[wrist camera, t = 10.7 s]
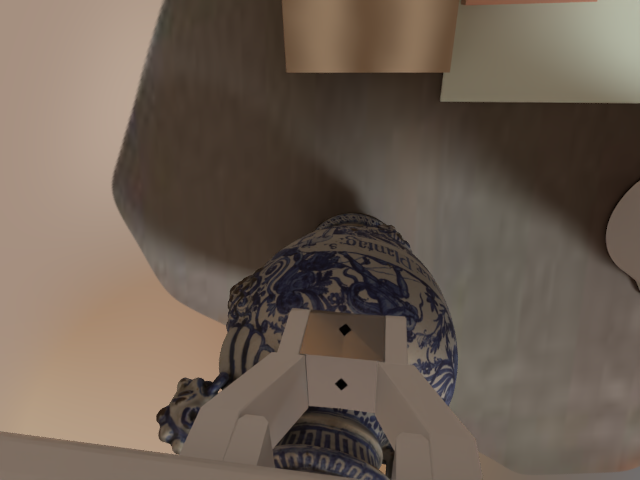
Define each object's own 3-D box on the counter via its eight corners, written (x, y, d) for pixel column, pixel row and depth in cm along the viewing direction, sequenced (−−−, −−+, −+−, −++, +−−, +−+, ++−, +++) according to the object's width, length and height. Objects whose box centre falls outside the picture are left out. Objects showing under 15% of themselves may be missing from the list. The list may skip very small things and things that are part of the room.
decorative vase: (488, 241, 43) (592, 546, 20) (387, 341, 53) (379, 623, 30) (312, 135, 40) (194, 349, 17) (240, 262, 50) (103, 507, 27)
